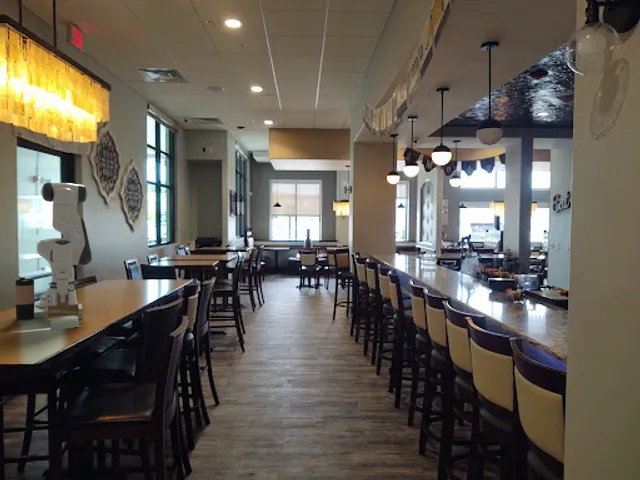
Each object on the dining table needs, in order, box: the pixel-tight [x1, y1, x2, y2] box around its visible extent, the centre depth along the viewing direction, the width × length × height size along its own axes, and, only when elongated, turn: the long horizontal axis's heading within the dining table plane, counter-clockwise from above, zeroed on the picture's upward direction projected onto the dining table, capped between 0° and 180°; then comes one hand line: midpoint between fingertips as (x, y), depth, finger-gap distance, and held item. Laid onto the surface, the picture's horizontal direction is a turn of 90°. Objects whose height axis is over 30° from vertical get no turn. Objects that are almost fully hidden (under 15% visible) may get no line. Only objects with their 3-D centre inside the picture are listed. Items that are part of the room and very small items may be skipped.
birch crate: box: [43, 302, 83, 323], centre depth 218 cm, size 16×16×6 cm
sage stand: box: [50, 317, 80, 331], centre depth 203 cm, size 11×11×3 cm
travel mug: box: [15, 278, 36, 321], centre depth 213 cm, size 8×8×20 cm
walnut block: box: [57, 291, 69, 308], centre depth 217 cm, size 5×5×7 cm
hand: (62, 301), depth 217 cm, fingers closed on walnut block, 5 cm apart
